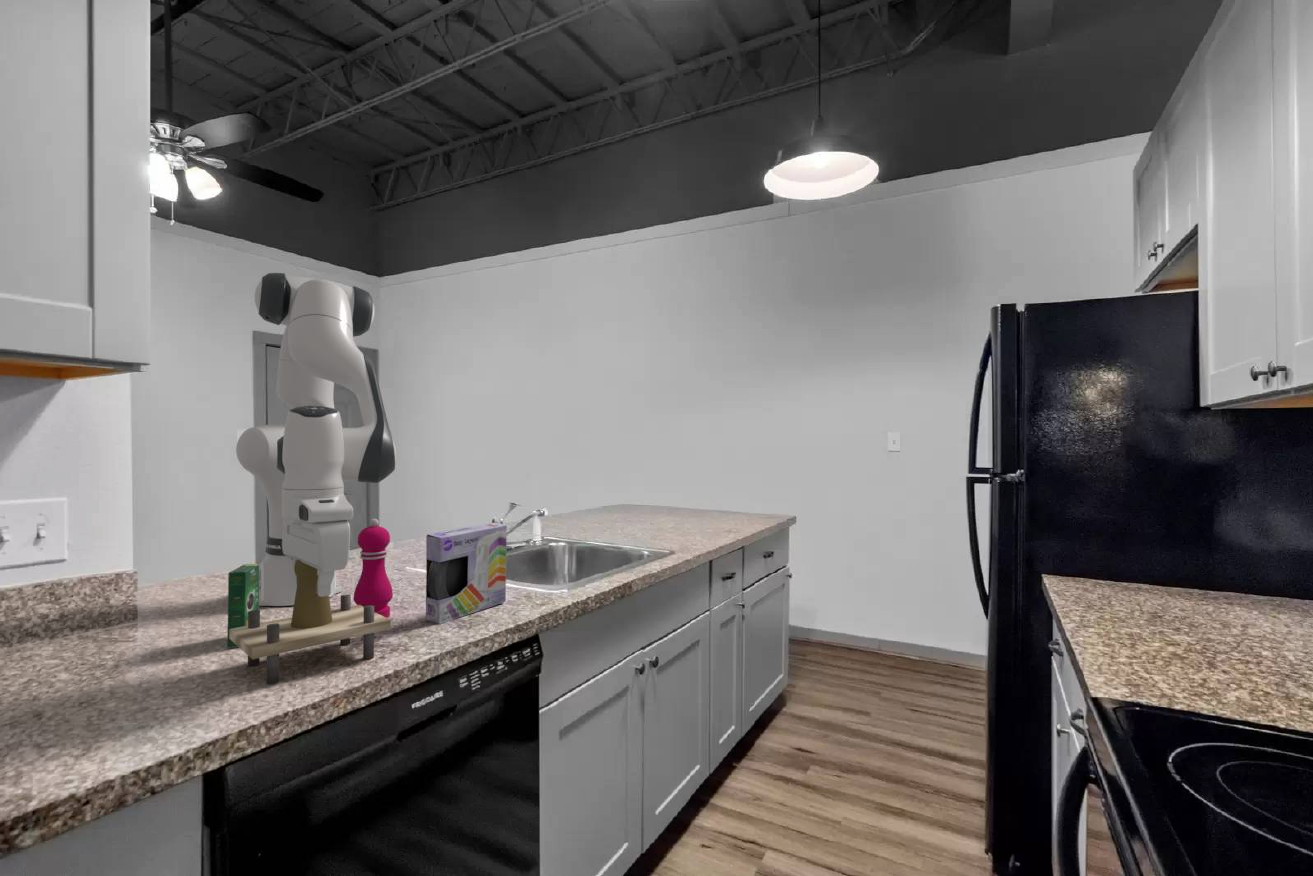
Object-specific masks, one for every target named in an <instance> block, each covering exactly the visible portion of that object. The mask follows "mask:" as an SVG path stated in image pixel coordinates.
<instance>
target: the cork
mask: <svg viewBox="0 0 1313 876" xmlns="http://www.w3.org/2000/svg"><path fill="white" fill-rule="evenodd" d="M294 571H295V574H296V576H297V577H298V582H297V588H296V595H295V601H294V605H293V610H292V616H291V617H292V621H291V627H293V628H314V627H320V626H324V625H327V624H329V623H331V622H332V614H331V610H332V608H331V600H330V597H329V595H328V596H323V597H320V596H318V595H317V594H316V584H317V583H318V575H317V569H316V568H313V567H311V566H309V565H307V564H304V563H302V562H301V561H300V560H297V561H296V562H295V566H294Z"/></svg>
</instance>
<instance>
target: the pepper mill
mask: <svg viewBox="0 0 1313 876" xmlns="http://www.w3.org/2000/svg"><path fill="white" fill-rule="evenodd" d="M379 524H380V522H379V519H377V518H371V519H370V520H369V526H367V527H364V528H363V529H362V530H360V532H359V534H358V535H357V544H358V546H359V548H360V549H361V550H360V556H359V557H360V558H359V559H361V560H362V561H361V562H362V568H361V574H360V577H359V579H358V582H357V584H356V586H355V589H354V593H353V601H354V603H355V604H356V605H361V606H363V607H365V606H370V605H372V606H374V612H375V613H378V614H380V615H382V616H384V617H386V618H388V619H389V617H390V616H391V606H390V605H389V603H390V602H391V601H392V599H393V595H394V593H393V587H392V584H391V582H390V580H389V577H388V574H387V571H386V564H385V561H386V558H387V557H388V554H387V552H388V550H387V549H386V548H387V547H388V546H389V544H390V542H391V535H390V532H389V531H388V530H387V529H386V528H385V527H383V526H379Z"/></svg>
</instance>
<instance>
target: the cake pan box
mask: <svg viewBox="0 0 1313 876" xmlns="http://www.w3.org/2000/svg"><path fill="white" fill-rule="evenodd" d="M507 529H508V525H506V524H503V523H502V524H501V523H498V522H491V523H486V524H479V525H474V526H473V525H472V526H464V527H458V528H455V529H454V528H453V529H449V530H444V531H438V532H431V533H427V534H426V540H425V541H426V543H425V545H426V550H425V551H426V555H425V558H426V559H425V561H426V564H425V565H426V568H425V569H426V570H425V571H426V574H425V575H426V579H425V582H426V583H425V621H427V622H431V623H435V624H438V625H441V624H444V623H446V622H450V621H453V620H456V619H459V618H461V617H465V616H468V615H471V614H473V613H477V612H479V611H483V610H486V609H489V608H491V607H494V606H496V605H499V604H500V605H501V604H503V603H505V602H506V597H507V596H506V594H507V593H506V592H507V591H506V588H507V539H508V537H507V535H508V534H507V533H508V530H507Z"/></svg>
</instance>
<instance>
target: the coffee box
mask: <svg viewBox="0 0 1313 876" xmlns="http://www.w3.org/2000/svg"><path fill="white" fill-rule="evenodd" d="M259 565H260V563H246V564H242V565H241V566H239V567H237V568H235V569H233V570H231V571H229V572H228V574H227V575H228V576H227V577H228V579H227V580H228V581H227V583H228V585H227V588H228V589H227V590H228V591H227V642H226V647H227V648H228V649H229V648H230V649H231V648H239V647H238V646H237V645H236V644H235V643H234V642H233V641H231V640H230V639H229V629H232V628H238V627H243V626H248V612H249V611H252V610H259V609H260V606H259Z"/></svg>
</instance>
